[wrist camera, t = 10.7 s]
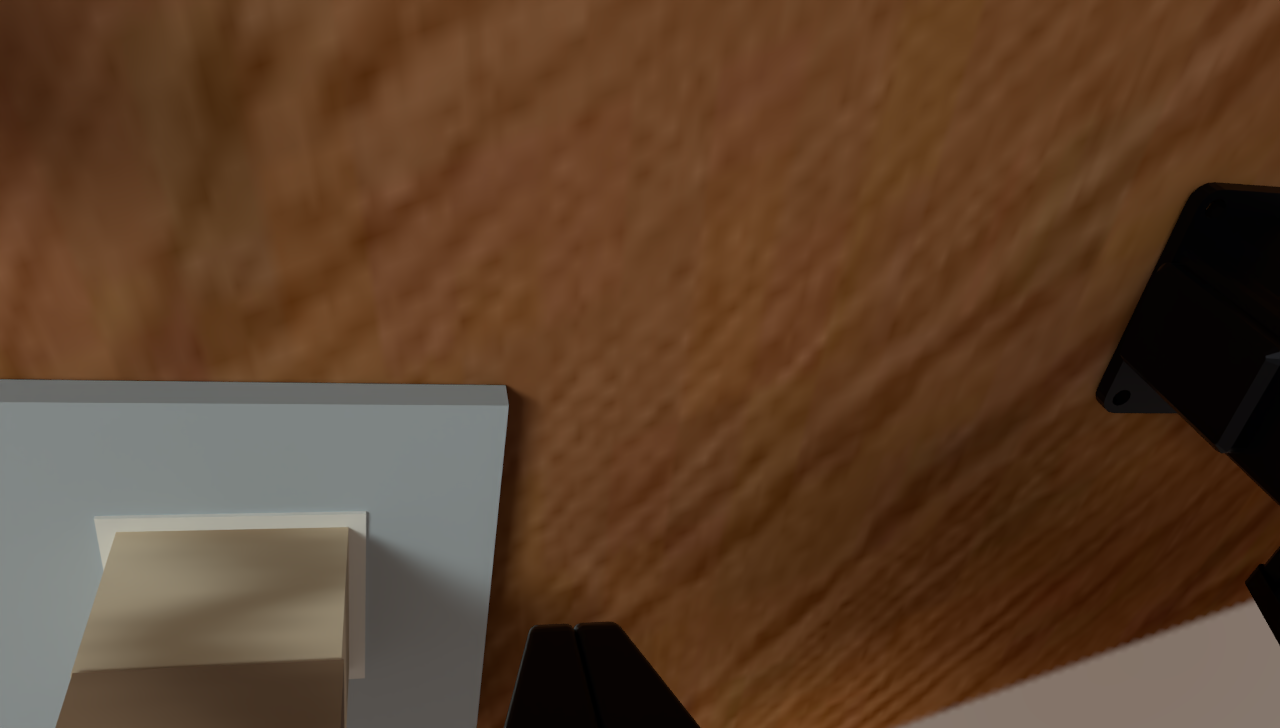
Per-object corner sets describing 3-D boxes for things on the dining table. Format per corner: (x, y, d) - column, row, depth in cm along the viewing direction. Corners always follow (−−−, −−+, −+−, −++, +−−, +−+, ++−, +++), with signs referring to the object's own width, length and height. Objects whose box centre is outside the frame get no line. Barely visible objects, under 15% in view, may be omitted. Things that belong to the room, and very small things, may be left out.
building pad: (505, 385, 24) (509, 408, 23) (473, 717, 30) (475, 743, 29) (-84, 378, 21) (-102, 404, 20) (19, 747, 27) (9, 777, 27)
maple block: (348, 527, 24) (341, 662, 21) (349, 669, 27) (342, 807, 24) (115, 532, 23) (70, 675, 20) (141, 680, 26) (104, 828, 22)
